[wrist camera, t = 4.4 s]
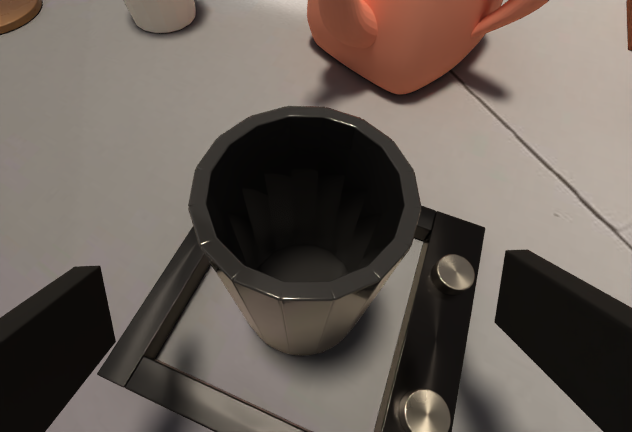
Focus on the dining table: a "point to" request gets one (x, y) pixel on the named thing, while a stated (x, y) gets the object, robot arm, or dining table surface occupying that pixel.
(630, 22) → the box
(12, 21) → the coaster
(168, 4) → the white cup
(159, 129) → the dining table surface
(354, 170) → the gray cup
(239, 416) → the square frame with knob
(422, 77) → the pot
